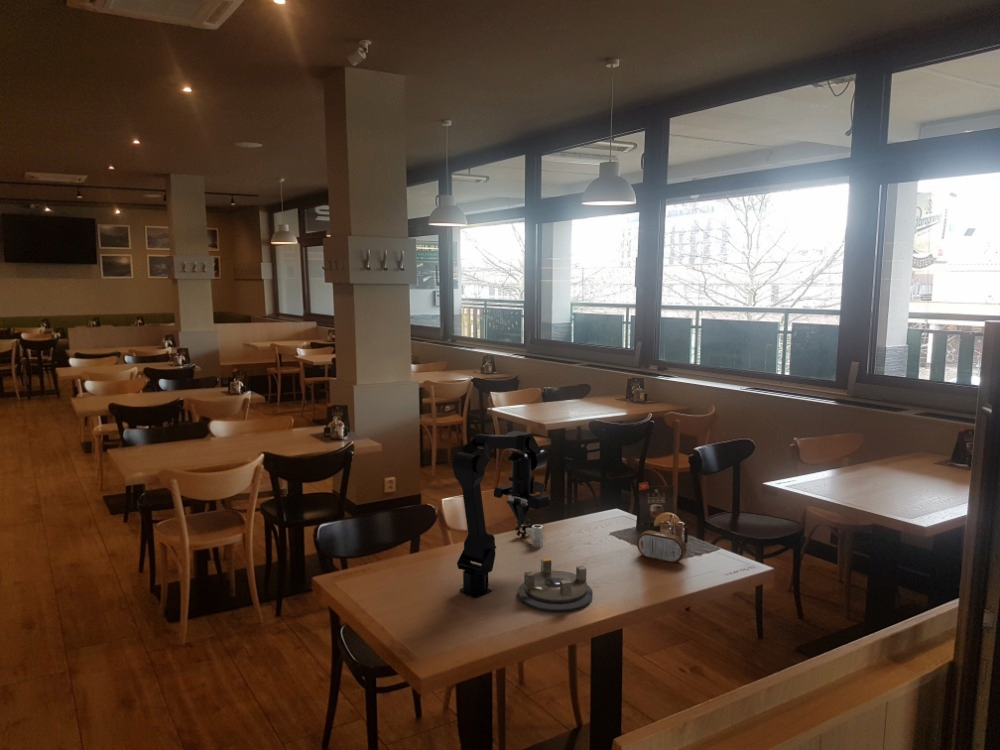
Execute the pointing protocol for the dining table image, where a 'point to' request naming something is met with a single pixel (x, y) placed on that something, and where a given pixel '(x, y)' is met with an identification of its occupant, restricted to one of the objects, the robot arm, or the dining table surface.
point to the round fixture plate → (555, 584)
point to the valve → (532, 533)
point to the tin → (661, 546)
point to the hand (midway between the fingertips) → (521, 524)
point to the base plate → (555, 607)
